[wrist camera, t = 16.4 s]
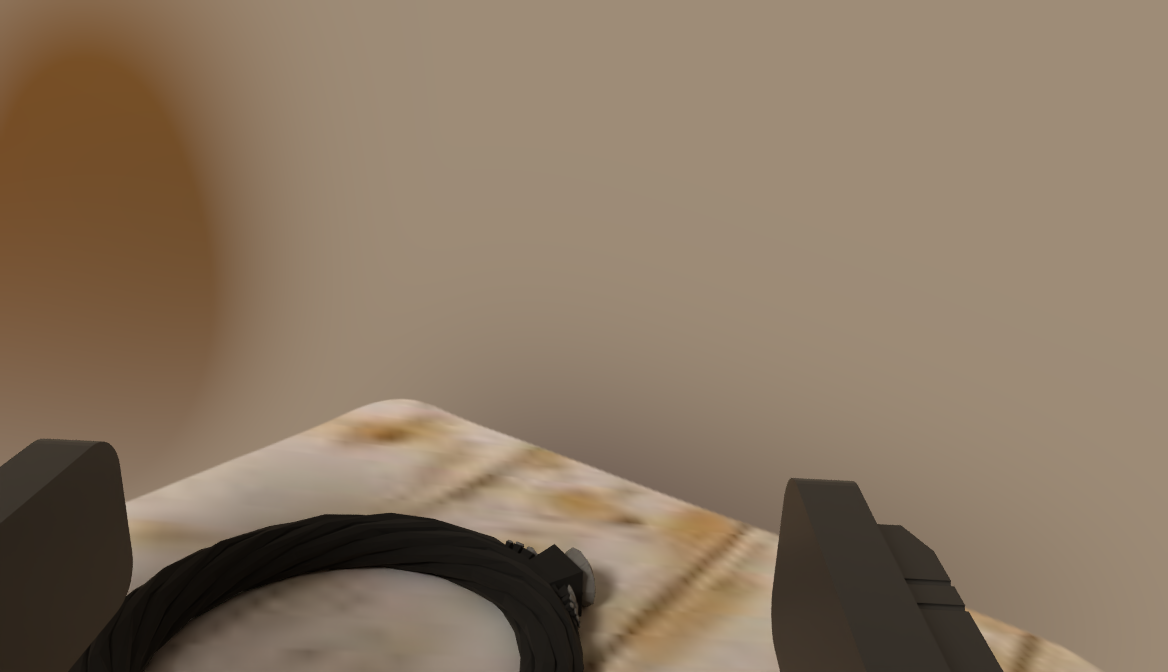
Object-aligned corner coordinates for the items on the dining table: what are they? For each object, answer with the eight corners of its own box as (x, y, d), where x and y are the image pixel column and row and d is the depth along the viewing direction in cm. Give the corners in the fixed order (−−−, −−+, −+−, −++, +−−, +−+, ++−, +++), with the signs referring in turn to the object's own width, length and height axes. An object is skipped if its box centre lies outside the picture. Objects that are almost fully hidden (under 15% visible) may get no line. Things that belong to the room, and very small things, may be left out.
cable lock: (27, 570, 55) (487, 460, 70) (37, 625, 56) (487, 505, 72) (72, 961, 33) (727, 679, 48) (87, 1036, 35) (720, 738, 50)
